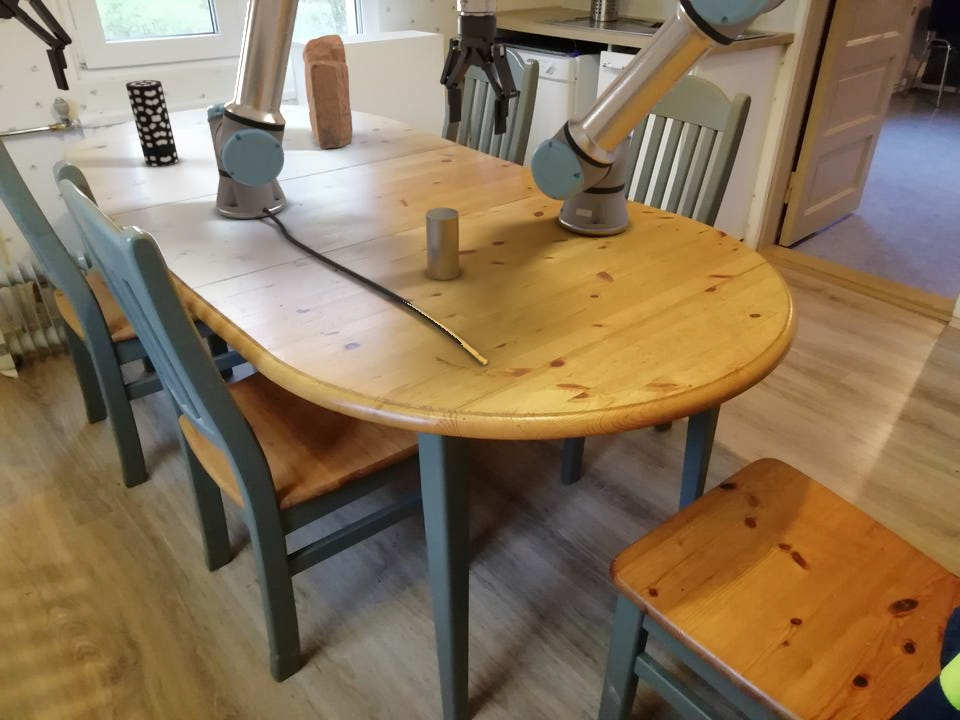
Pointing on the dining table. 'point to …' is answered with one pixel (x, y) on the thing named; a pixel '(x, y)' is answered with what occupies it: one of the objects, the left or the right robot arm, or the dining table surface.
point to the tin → (442, 243)
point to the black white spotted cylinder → (152, 122)
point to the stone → (328, 91)
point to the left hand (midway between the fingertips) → (24, 95)
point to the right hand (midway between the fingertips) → (477, 127)
